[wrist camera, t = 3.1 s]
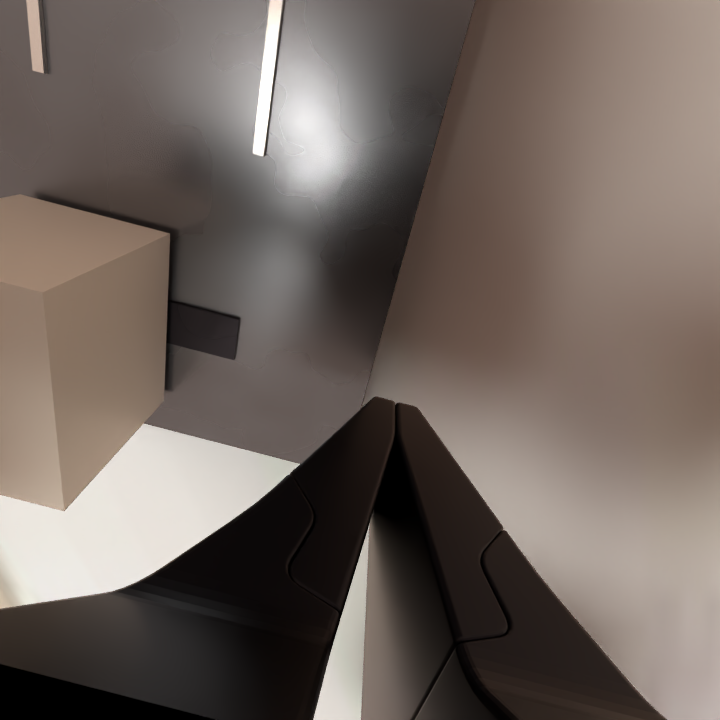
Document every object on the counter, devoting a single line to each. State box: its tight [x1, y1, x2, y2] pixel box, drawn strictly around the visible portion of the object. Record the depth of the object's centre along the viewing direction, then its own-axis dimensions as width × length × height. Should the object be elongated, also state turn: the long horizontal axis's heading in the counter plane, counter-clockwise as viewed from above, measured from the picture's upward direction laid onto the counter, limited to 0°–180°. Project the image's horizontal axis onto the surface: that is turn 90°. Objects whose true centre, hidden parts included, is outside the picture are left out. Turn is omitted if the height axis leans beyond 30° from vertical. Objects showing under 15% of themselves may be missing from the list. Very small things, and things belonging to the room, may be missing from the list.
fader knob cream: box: [0, 194, 170, 511], centre depth 8 cm, size 3×4×4 cm
